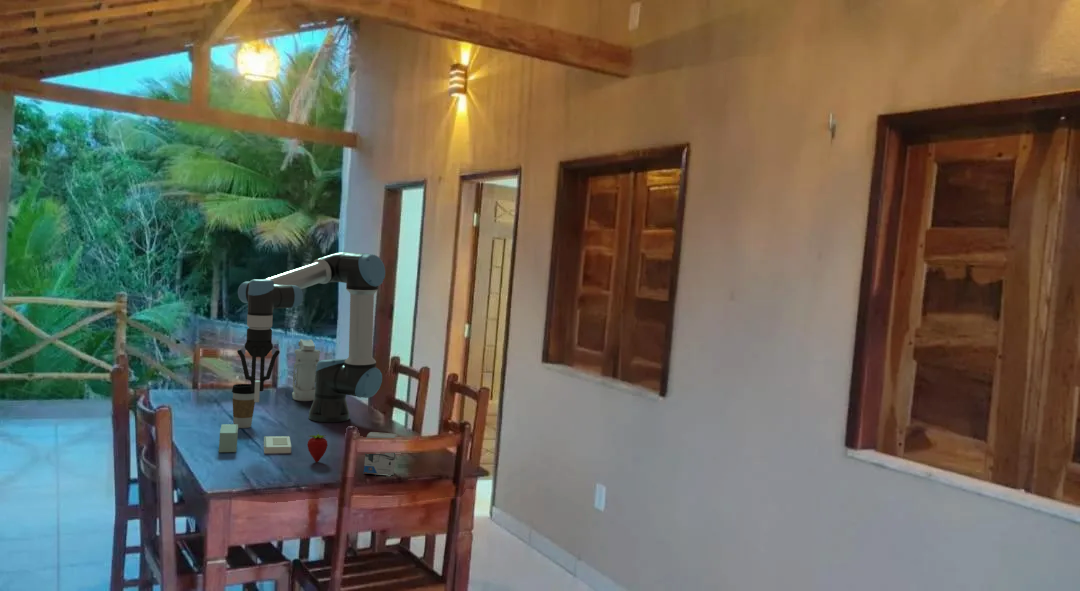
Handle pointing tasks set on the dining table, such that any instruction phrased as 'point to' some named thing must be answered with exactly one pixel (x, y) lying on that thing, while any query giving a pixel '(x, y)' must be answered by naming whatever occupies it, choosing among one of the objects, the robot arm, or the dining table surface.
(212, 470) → the dining table surface
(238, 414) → the coffee cup
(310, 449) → the strawberry
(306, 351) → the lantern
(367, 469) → the ink box
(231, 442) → the grey rectangular block
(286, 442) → the cream flat block
